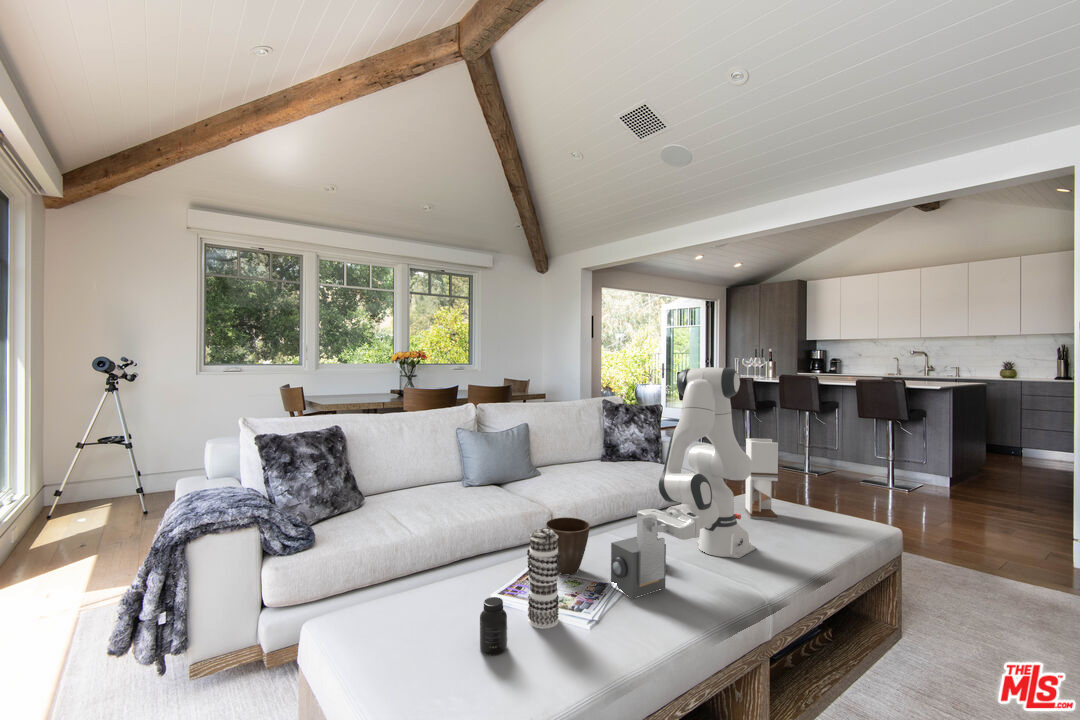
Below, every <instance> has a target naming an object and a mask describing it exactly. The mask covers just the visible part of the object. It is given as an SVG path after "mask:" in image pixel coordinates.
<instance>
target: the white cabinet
mask: <svg viewBox="0 0 1080 720" xmlns="http://www.w3.org/2000/svg"><path fill="white" fill-rule="evenodd" d="M745 453H746V454H747V455H748V456H749V457H750V459H751V461H752V472H751V474H750V475H749V477H748V478H747V479H745V497H744V498H745V500H744V501H745V508H744V509H745V510H744V511H745V514H746V515H747V516H748V517H749V519H751V520H762V519H764V520H765V521H778V515H777V514H776V513H775V512H774V511H773V509H772V495H773V494H772V489H773V488H772V487H773V486H772V485H773V483H772V482H778V481H779V469H778V468H779V442H775V441H774V442H773V439H772V438H746V439H745Z"/></svg>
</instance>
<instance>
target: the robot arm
mask: <svg viewBox="0 0 1080 720" xmlns="http://www.w3.org/2000/svg"><path fill="white" fill-rule="evenodd" d="M676 378H677V379H676V389H677V392H678V393H679V394H680V395H681V396H682V397H683V398H682V403H681V411H680V417H679V420H678V423H677V424H676V426H675V428H673V431H672V433H671V436H670V439H669V443H668V448H667V454H666V457H665V461H664V466H663V467H664V468H663V470H662V473H661V475H660V478H659V481H658V492H659V493H660V495H661V497H662V499H663V500H664V501H666V502H667V503H681V504H676V505H673V506H669V507H668V508H667V509H666V511H662V510H660V509H656V508H646V509H640V510H637V513H636V518H637V517H638V516H643V515H648V514H654V515H657V525H656V526H655V525H652V526H650V527H649V528H650V529H649V531H650V532H653V533H655V532H657V533H665V534H666V535H669V536H672V537H674V538H676V539H679V540H691V539H697V542H698V543H697V544H698V550H699V549H700V550H699V551H700V552H702V551H703V552H702V553H704V552H705V553H704V554H708V555H711V556H714V557H723V558H724V557H725V558H732V559H733V558H734V559H740V558H742V557H744V556H745V555H747V554H749V553H751V552H753V551H754V550H756V545H755V544H753V543H752V542H750V538H749V534H748V533H749V532H747V530H746V529H745V528H743V527H742V526H741V525H740V524H739V523H738V522H737V520H741V519H742V514H741V513H737V512H735V509H734V508H735V507H734V506H735V495H734V492H733V491H732V490H731V489H730V487H728V485H727V484H726V482H725V480H730V481H744V480H745V481H746V479H747V478H748V477H749V475H750V474H751V472H752V461H751V459H750V457H749V456H748V455H747V454H746V451H744V450H743V449H742V448H741V446H740V444H739V442H738V441H737V437H736V435H735V432H734V427H733V426H734V425H733V416H732V404H731V398H732V397H735V395H737V394H738V392H739V389H740V386H741V380H740V376H739V374H738V371H736V370H735V368H731V367H715V366H713V367H712V366H711V367H710V366H706V367H698V368H686V369H682V370H681V371H680V372H679V373H678V375H677V377H676ZM705 437H706V438H707V439H708V440H709V441H710V443H711V445H705V444H704V445H694V446H693V447H692V448H691V449H690V450H689V452H688V454H687V462H688V465H689V467H690V468H691V469H692V470H693V472H694V473H692V472H689V473H685V472H684V473H683V472H682V470H683V463H684V459H685V454H686V450H687V449H688V448H689V446H691V444H693V443H695V442H696V441H699V440H700V439H702V438H705ZM724 479H725V480H724ZM698 538H699V539H698Z"/></svg>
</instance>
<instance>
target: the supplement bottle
mask: <svg viewBox="0 0 1080 720" xmlns="http://www.w3.org/2000/svg"><path fill="white" fill-rule="evenodd" d="M507 615H508V614H507V612H506V611H505V609H504V601H503V599H502V598H501V597H497V596H496V597H495V596H491V597H487V598H486V599H484V601H483V610H482V611H481V612H480V615H479V649H480V651H481V652H482V653H483V654H484V655H487V656H498V655H501V654H503V653H505V651H506V650H507V647H508V616H507Z"/></svg>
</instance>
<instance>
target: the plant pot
mask: <svg viewBox="0 0 1080 720" xmlns="http://www.w3.org/2000/svg"><path fill="white" fill-rule="evenodd" d="M545 528H548V529H551V530H553V531H554V532H555V534H557V535H558V538H557V546H558V552H560V556H559V558H560V562H558V563H557V564H558V565H559V567H560V568H559V569H558V571H559V574H560V573H561V574H560V575H563V574H569V575H568V576H573V575H575V574H578V571H579V569H580V567H581V565H582V561H583V558H584V555H585V551H586V547H587V544H588V540H589V533H590V529H591V526H590V523H589V522H588V521H587V520H584V519H580V518H577V517H568V516H567V517H555V518H552V519H549V520H548V521H547V522H546V523H545Z"/></svg>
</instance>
